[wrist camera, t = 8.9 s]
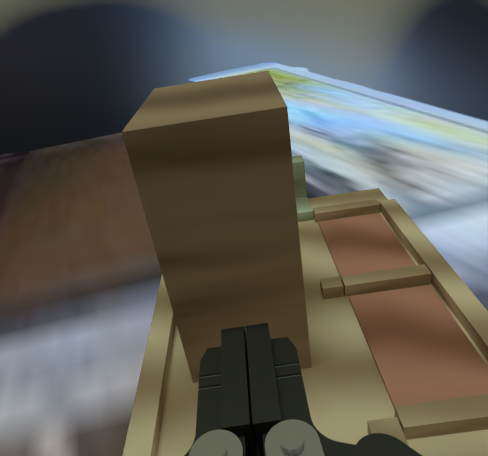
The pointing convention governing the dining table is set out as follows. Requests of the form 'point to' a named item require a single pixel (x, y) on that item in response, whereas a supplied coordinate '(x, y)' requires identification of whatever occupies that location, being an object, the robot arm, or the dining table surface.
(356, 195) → the tray
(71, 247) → the dining table surface
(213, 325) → the walnut block
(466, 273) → the dining table surface
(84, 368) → the dining table surface
